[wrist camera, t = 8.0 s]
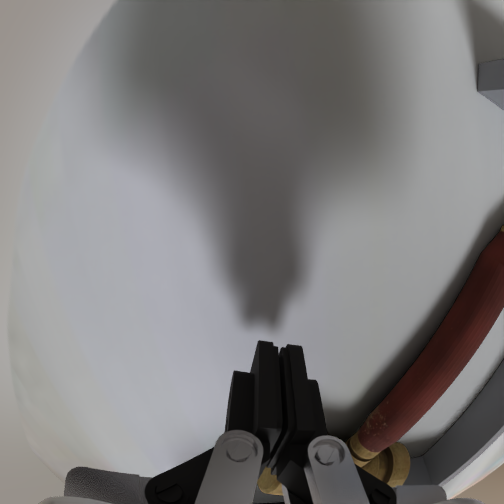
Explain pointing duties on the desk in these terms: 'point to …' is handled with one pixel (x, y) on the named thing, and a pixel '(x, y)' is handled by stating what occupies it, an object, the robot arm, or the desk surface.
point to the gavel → (426, 374)
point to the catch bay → (493, 394)
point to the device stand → (274, 503)
